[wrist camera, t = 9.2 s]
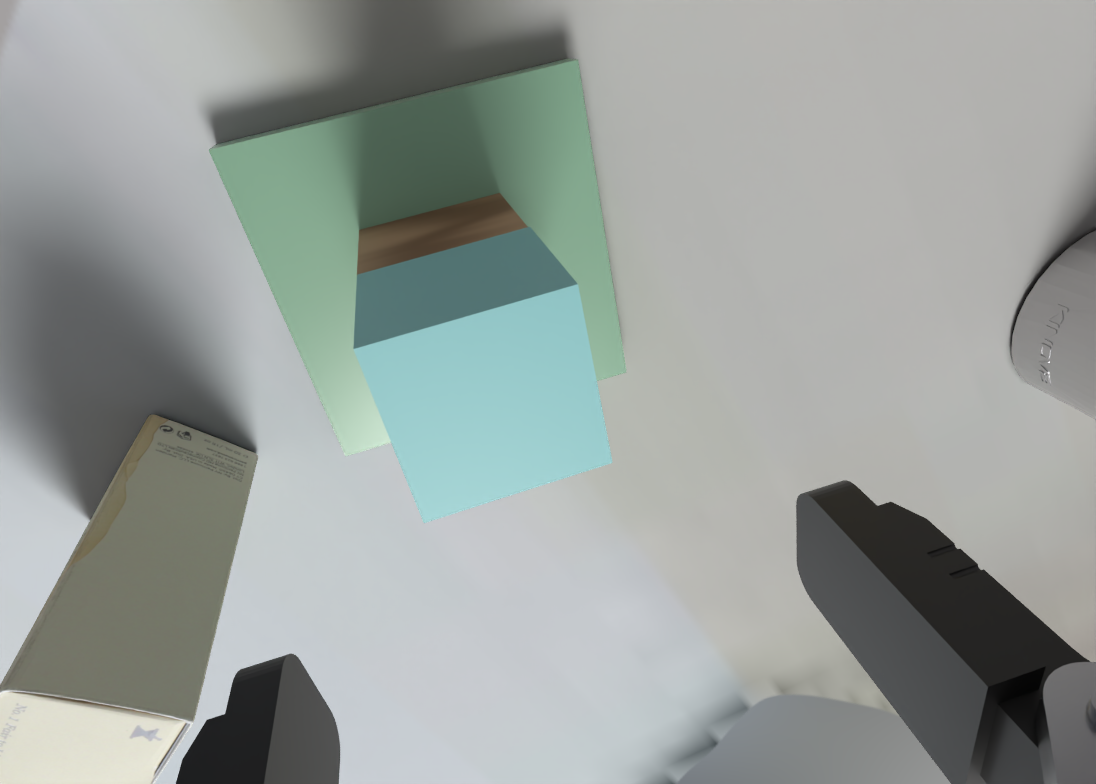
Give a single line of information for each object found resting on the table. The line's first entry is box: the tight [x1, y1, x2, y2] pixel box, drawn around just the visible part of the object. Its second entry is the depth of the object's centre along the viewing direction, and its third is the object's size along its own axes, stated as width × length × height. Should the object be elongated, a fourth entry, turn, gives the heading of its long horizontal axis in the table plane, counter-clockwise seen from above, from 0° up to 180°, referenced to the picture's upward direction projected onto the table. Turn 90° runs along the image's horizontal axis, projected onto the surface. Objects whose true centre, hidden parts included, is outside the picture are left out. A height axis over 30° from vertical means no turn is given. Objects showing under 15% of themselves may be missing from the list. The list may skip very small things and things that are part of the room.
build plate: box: [209, 59, 626, 456], centre depth 24 cm, size 12×12×1 cm
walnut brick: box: [357, 193, 528, 275], centre depth 22 cm, size 5×5×5 cm
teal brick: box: [353, 227, 612, 523], centre depth 17 cm, size 5×5×5 cm
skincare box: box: [0, 415, 258, 784], centre depth 21 cm, size 6×4×12 cm
